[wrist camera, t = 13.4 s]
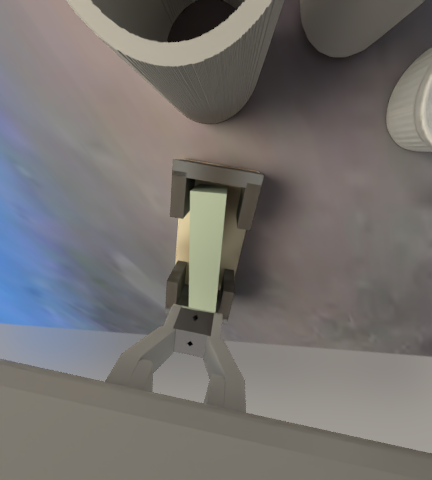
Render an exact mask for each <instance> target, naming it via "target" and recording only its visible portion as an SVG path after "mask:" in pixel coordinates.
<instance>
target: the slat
mask: <svg viewBox="0 0 432 480" xmlns="http://www.w3.org/2000/svg"><path fill="white" fill-rule="evenodd" d="M227 189H228V186H223V185H211V184H199V185H197V186H196V187H195V188H193V189H192V190H191V191H190V238H189V307H190V308H195V309H200V310H205V311H211V312H216V303H217V293H218V283H219V273H220V262H221V252H222V242H223V231H224V221H225V210H226V200H227Z"/></svg>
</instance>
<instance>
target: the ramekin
mask: <svg viewBox="0 0 432 480" xmlns="http://www.w3.org/2000/svg"><path fill="white" fill-rule="evenodd" d="M386 124H387V128H388V131H389V133H390V136H391V137H392V139H393V140H394V142H395V143H397V144H398V145H399V146H400V147H402V148H404V149H408V150H411V151H419V152H432V47H431V48H430V49H428V50H427V51H425V52H424V53H423V54H422V55H420V56H419V57H418V58H417V59H416V60H415V61H414V62H413V63H412V64H411V65H410V66H409V67H408V69H407V70H406V71H405V72H404V74H403V75H402V76H401V78H400V79H399V81H398V82H397V84H396V86H395V88H394V90H393V92H392V94H391V97H390V99H389V103H388V107H387V114H386Z"/></svg>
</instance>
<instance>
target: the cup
mask: <svg viewBox="0 0 432 480" xmlns="http://www.w3.org/2000/svg"><path fill="white" fill-rule="evenodd" d="M66 1H67V2H68V4H69V5H70V6H71V7H72V9H73V10H74V11H75V13H76V14H77V15H78V16H79V17H80V19H81V20H82V21H83V22H84V23H85V24H86V26H87V27H89V28H90V29H91V30H92V31H93V32H94V34H96V35H97V36H98V37H99V38H100V39H101V40H102V41H103V42H104V43H105V44H106V45H108V46H109V47H110V48H111V49H112V50H113V51H114V52H115V53H116V54H117V55H118V56H120V57H121V58H122V59H123V60H124V61H125V62H126V63H127V64H128V65H129V66H130V67H131V68H133V69H134V70H135V71H136V72H137V73H138V74H139V75H140V76H141V77H142V78H143V79H145V80H146V81H147V82H148V83H149V84H150V85H151V86H152V87H153V88H154V89H155V90H156V91H158V92H159V93H160V94H161V95H162V96H163V97H164V98H165V99H166V100H167V101H168V102H170V103H171V104H172V105H173V106H174V107H175V108H176V109H177V110H178V111H179V112H181V113H182V114H183V115H185V116H186V117H187V118H189V119H192V120H194V121H196V122H199V123H206V124H212V123H220V122H221V121H225V120H227V119H229V118H230V117H232V116H233V115H235V114H236V113H237V112H239V111H240V109H242V108H243V106H245V104H246V102H247V101H248V100H249V98H250V96H251V95H252V93H253V91H254V89H255V87H256V84H257V81H258V78H259V75H260V72H261V69H262V66H263V63H264V60H265V57H266V54H267V51H268V48H269V45H270V42H271V39H272V36H273V33H274V30H275V27H276V24H277V21H278V18H279V15H280V12H281V9H282V6H283V3H284V0H223V1H225V2H226V3H228V4H229V5H232V6H233V7H234V8H235V9H236V10H237V11H236V10H235V12H234V13H232V15H230V16H229V18H228V20H227V19H226V21H225V22H222V23H221V25H220V24H219V26H218V27H215V28H214V30H213V29H212V31H211V30H210V32H208V33H206V34H205V33H204V35H203V34H202V36H200V37H198V38H197V37H196V39H195V38H194V39H191V40H189V41H188V40H187V41H185V40H184V41H181V42H179V43H178V42H177V41H176V42H174V43H173V42H170V43H168V42H167V39H168V35H169V33H170V30H171V27H172V25H173V24H174V21H175V20H176V19H177V17H178V16H179V15H180V13H181V12H182V11H183V10H184V9H185V8H186V7H188V6H189V5H190V4H191V3H194V2H196V1H197V0H66Z"/></svg>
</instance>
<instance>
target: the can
mask: <svg viewBox="0 0 432 480" xmlns="http://www.w3.org/2000/svg"><path fill="white" fill-rule="evenodd" d="M424 1H425V0H300V10H301V22H302V25H303V28H304V31H305V33H306V36H307V38H308V40H309V41H310V43H311V44H312V45H313V46H314V47H315V48H316V49H317V50H318V51H319V52H321V53H323V54H325V55H328V56H330V57H348V56H351V55H353V54H356V53H358V52H361V51H363V50H365V49H366V48H367V47H369V46H370V45H371V44H373V43H374V42H375V41H377V40H378V39H379V38H380V37H382V36H383V35H384V34H385V33H386V32H388V31H389V30H390V29H391V28H393V27H394V26H395V25H396V24H397V23H399V22H400V21H401V20H402V19H404V18H405V17H406V16H407V15H408V14H410V13H411V12H412V11H413V10H415V9H416V8H417V7H418V6H419V5H421V4H422V3H423V2H424Z"/></svg>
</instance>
